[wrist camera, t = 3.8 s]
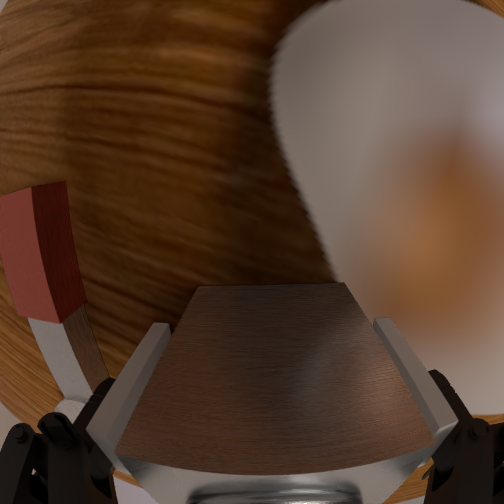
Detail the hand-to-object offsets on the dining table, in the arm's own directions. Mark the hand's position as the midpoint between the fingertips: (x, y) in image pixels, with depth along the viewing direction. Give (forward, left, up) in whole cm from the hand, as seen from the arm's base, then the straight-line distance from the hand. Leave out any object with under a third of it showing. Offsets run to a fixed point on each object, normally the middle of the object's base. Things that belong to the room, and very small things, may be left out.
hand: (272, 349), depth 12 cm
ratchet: (+2, -11, 0) cm, 11 cm away
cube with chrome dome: (0, 0, 0) cm, 0 cm away
